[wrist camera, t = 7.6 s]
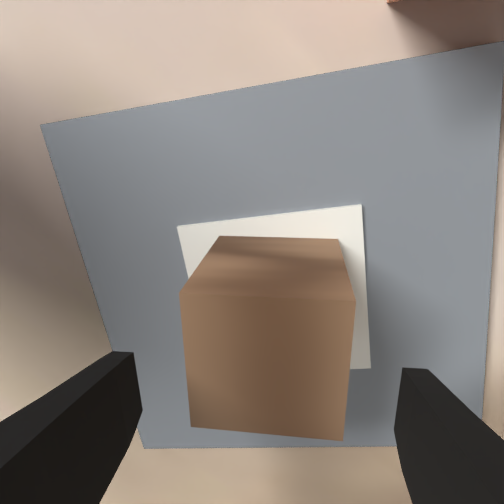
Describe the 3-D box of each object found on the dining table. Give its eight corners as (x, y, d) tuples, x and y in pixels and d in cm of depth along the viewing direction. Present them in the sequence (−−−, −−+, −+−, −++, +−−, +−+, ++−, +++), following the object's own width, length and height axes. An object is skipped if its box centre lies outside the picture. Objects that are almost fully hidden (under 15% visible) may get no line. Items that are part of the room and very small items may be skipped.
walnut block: (223, 335, 16) (190, 426, 11) (219, 235, 14) (178, 293, 10) (330, 342, 15) (342, 441, 11) (337, 238, 14) (355, 301, 9)
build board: (148, 439, 20) (142, 452, 19) (50, 124, 14) (36, 124, 14) (474, 434, 17) (482, 449, 16) (496, 44, 12) (508, 39, 11)
